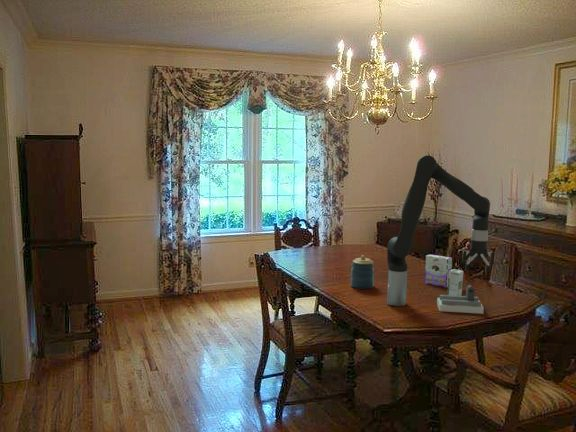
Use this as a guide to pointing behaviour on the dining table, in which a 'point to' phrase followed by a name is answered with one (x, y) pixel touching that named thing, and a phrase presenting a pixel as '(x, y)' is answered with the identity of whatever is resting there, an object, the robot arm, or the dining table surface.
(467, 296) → the breaker lever
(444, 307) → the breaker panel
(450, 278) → the syrup box
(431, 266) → the candy box
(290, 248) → the dining table surface
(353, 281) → the canister
